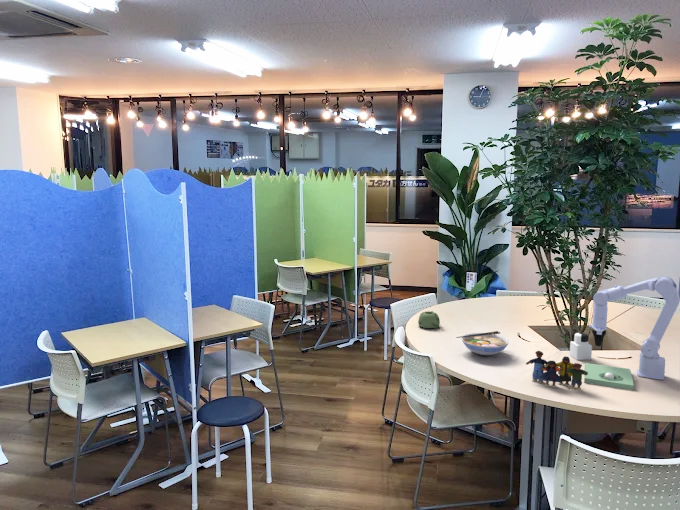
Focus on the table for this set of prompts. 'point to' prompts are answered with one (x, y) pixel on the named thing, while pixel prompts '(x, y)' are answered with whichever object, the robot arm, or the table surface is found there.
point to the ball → (609, 376)
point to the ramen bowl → (485, 342)
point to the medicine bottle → (580, 347)
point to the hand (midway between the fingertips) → (597, 345)
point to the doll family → (552, 367)
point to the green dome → (428, 320)
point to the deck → (597, 377)
